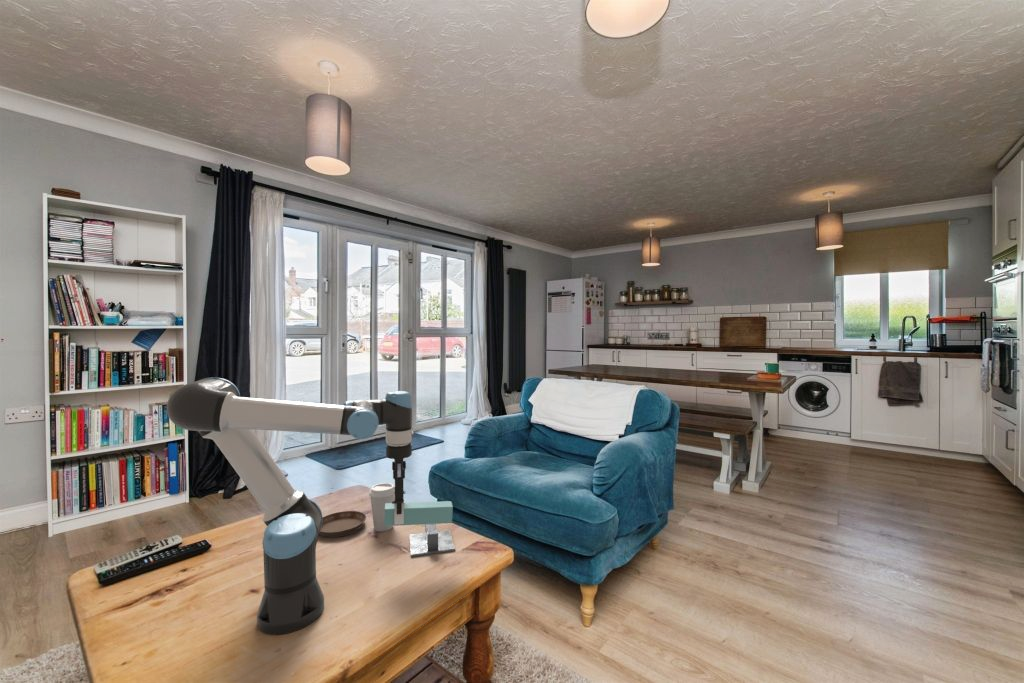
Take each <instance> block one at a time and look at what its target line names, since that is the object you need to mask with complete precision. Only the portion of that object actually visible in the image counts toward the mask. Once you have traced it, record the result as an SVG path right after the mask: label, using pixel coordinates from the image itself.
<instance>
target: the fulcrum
mask: <svg viewBox="0 0 1024 683" xmlns="http://www.w3.org/2000/svg"><path fill="white" fill-rule="evenodd" d="M453 539H454V538H453V535H452V532H451V529H443V530H438V526H437V524H424V532H419V533H411V534H409V547H410V548H409V551H410V558H414V557H415V558H416V557H421V556H429V555H436V554H443V553H451V552H455V551H456V546H455V543H454V540H453Z"/></svg>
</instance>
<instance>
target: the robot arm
mask: <svg viewBox="0 0 1024 683" xmlns="http://www.w3.org/2000/svg"><path fill="white" fill-rule="evenodd" d="M412 402H413V401H412V394H411V393H410V392H409V391H404V390H396V391H387V393H386V394H385V398H381V399H353V400H346V401H344V402H343V404H342V405H341V404H330V403H319V402H304V401H296V400H295V401H294V400H293V401H292V400H281V399H269V398H256V397H247V396H246V397H245V396H241V393H240V390H239V389H238V387H237V386H236V385H235V384H234V383H233V382H231V381H230V380H228V379H226V378H221V377H205V378H202V379H199V380H196V381H193V382H190V383H186V384H183V385H182V386H180V387H178V388H176V389H175V390H174V391H173V392H172V393H171V395H170V396H169V398H168V400H167V403H166V414H167V416H168V419H169V420H170V421H171V422H172V423H173V424H174V425H175V426H177V427H178V428H180V429H183V430H187V431H195V432H198V434H199V435H200V436H201V437H202V438H203V439H208V440H209V439H210V440H212V441H213V442H214V443H215V445H216V446H217V447H218V449H219V450H220V451H221V453H222V454H223V456H224V457H225V459H226V460H227V461H228V463H229V464H230V465H231V466H232V468H233V469H234V471H235V473H237V475H238V476H239V478H240V480H241V481H242V482H243V483H244V485H245V486H246V487H247V489H248V491H250V493H251V495H252V496H253V497H254V498H255V501H257V503H258V504H259V505H260V507H261V508H262V510H263V511H264V513H263V516H262V521H263V523H264V524H265V526H266V528H265V529H264V532H263V538H262V544H261V545H262V549H263V574H264V575H263V578H264V579H263V580H264V582H263V583H264V592H263V593H262V597H261V600H260V604H259V607H258V611H257V612H256V613H257V615H256V625H257V628H258V629H259V631H260V632H262V633H265V634H267V635H268V634H269V635H284V634H288V633H293V632H297V631H298V630H300V629H304V628H305V627H307V626H309V625H310V624H312V623H314V622H315V621H316V620H317V619H318V618H319V617H320V616H321V614H322V613H323V612H324V610H325V597H324V596H325V595H324V594H323V591H322V588H321V586H320V583H319V581H318V578H317V558H316V556H317V554H316V550H317V545H318V541H319V537H320V534H319V533H320V530H321V526H322V522H323V518H322V517H323V512H322V510H321V507H320V505H318V503H317V502H316V501H314V500H313V499H311V498H308V496H307V495H306V494H305V493H304V491H303V490H295V488H294V487H293V486H292V484H291V483H290V481H289V480H288V479H287V477H286V476H285V474H284V473H283V471H282V470H281V468H280V467H279V466H278V465H277V463H276V462H275V460H274V459H273V457H272V456H271V454H270V453H269V452H268V450H267V449H266V447H265V446H264V445H263V443H262V441H261V440H260V439H259V437H258V436H257V435H256V432H254V430H262V431H275V432H277V431H278V432H294V433H295V432H296V433H307V434H308V433H309V434H310V433H312V434H329V435H343V436H351V437H353V438H354V439H356V440H367V439H369V438H371V437H372V436H374V434H375V433H376V431H377V430H378V426H381V425H382V426H384V425H385V443H386V445H385V457H387V458H388V459H391V460H394V461H392V464H391V466H392V467H391V470H392V477H393V478H392V479H393V480H394V487H395V488H394V489H395V492H394V494H395V495H394V501H392V504H394V525H398V524H404V503H405V499H404V495H405V494H406V490H404V479H405V478H406V468H407V463H406V462H407V461H406V460H404V459H407V458H409V457H411V456H412V455H413V453H412V452H413V448H412V447H413V444H412V443H411V442H412V438H413V437H412V435H414V434H415V432H414V431H412V429H413V428H412V424H413V422H412V420H413V419H412V417H413V404H412ZM398 526H399V525H398Z"/></svg>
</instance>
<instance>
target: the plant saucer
mask: <svg viewBox="0 0 1024 683" xmlns="http://www.w3.org/2000/svg"><path fill="white" fill-rule="evenodd" d="M322 518H323V522H322V526H321V530H320V533H319V535H321V536H322V537H325V538H326V537H327V538H339V537H344V536H347V535H350V534H353V533H355V532H357V531H359V529H360V528H362V526H363V525H364V524H365V521H366V519H367V515H366V514H365V513H363V512H362V511H357V510H356V511H355V510H344V511H338V512H334V513H330V514H328V515H324V516H322Z"/></svg>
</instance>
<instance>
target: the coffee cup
mask: <svg viewBox="0 0 1024 683" xmlns="http://www.w3.org/2000/svg"><path fill="white" fill-rule="evenodd" d="M394 488H395V484H393V483H390V482H380V483H377V484H374V485H372V486H371V487H370V490H369V492H368V496H370V505H371V506H370V507H371V513H372V522H373V529H374V531H376V532H379V533H381V532H387V531H390V530H391V529H392V528H393V527H394V526H384V515H385V503H392V501H394V495H395V494H394V492H395V489H394Z"/></svg>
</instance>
